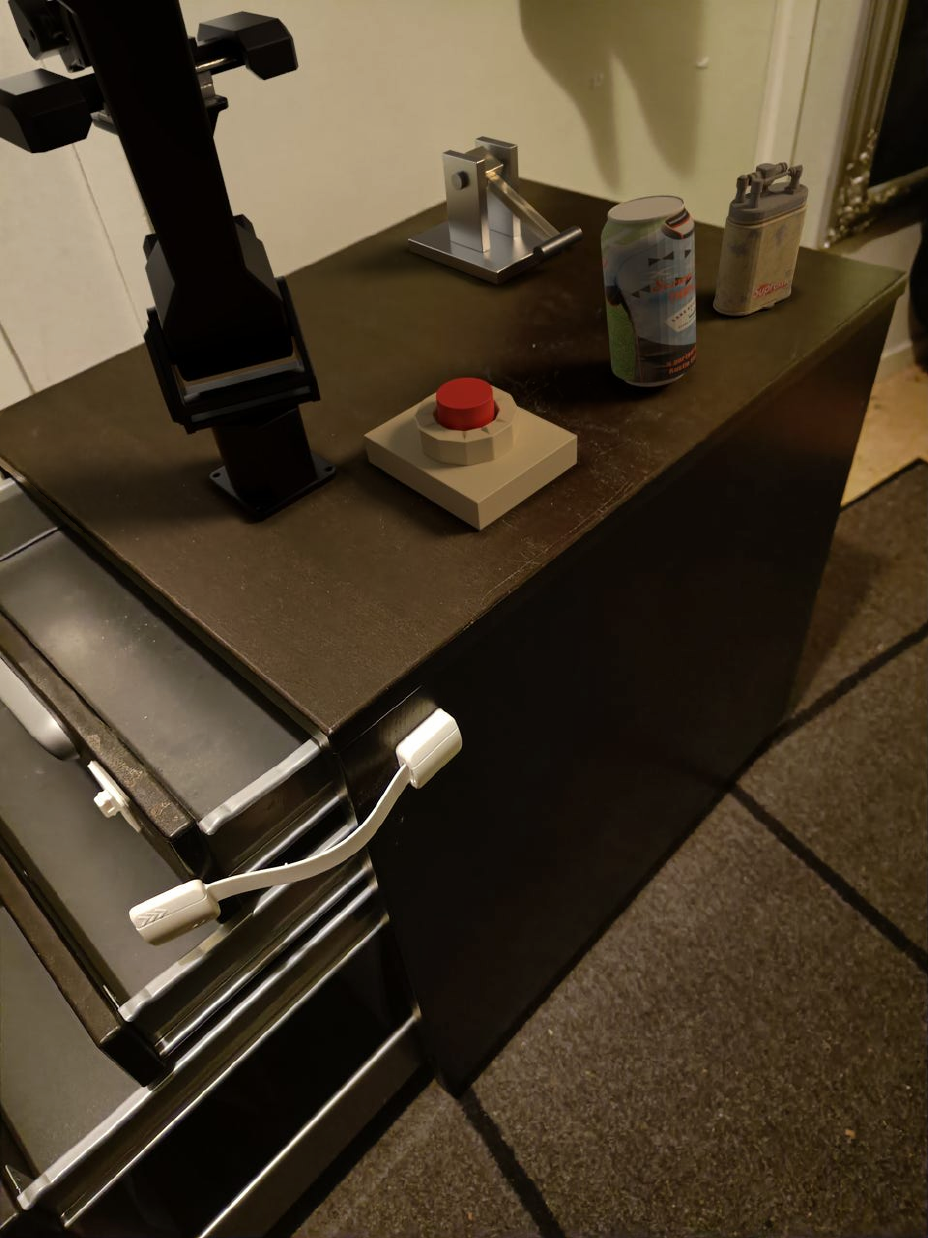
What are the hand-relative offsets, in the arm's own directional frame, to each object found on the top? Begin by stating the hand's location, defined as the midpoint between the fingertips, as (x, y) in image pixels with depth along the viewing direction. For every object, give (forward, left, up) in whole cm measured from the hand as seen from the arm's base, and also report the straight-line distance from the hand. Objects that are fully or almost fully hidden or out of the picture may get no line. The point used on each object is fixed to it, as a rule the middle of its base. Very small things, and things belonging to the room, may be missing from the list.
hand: (193, 219), depth 58 cm
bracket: (0, -28, -12) cm, 30 cm away
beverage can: (-25, -20, -12) cm, 34 cm away
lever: (-3, -28, -8) cm, 29 cm away
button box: (-23, -4, -12) cm, 26 cm away
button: (-23, -4, -8) cm, 25 cm away
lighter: (-25, -34, -12) cm, 44 cm away
